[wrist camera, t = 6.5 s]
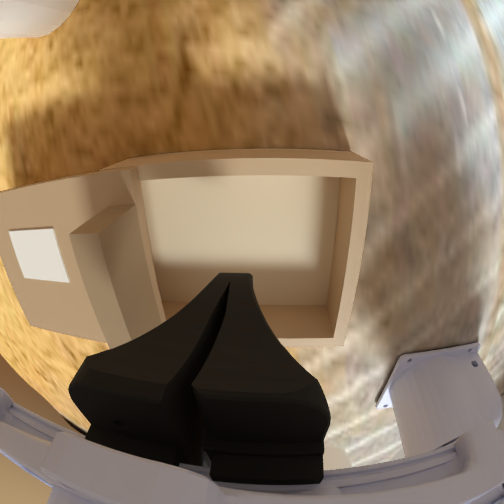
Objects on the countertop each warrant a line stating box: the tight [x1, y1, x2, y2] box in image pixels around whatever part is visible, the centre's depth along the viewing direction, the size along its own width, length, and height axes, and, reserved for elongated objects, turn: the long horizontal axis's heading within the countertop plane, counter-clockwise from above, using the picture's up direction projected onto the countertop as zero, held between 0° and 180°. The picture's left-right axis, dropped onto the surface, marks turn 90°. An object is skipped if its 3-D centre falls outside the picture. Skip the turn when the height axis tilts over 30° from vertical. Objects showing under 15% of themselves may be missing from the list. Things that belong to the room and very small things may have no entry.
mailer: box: [98, 148, 373, 347], centre depth 15 cm, size 12×10×4 cm
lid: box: [0, 166, 166, 349], centre depth 12 cm, size 12×10×4 cm
